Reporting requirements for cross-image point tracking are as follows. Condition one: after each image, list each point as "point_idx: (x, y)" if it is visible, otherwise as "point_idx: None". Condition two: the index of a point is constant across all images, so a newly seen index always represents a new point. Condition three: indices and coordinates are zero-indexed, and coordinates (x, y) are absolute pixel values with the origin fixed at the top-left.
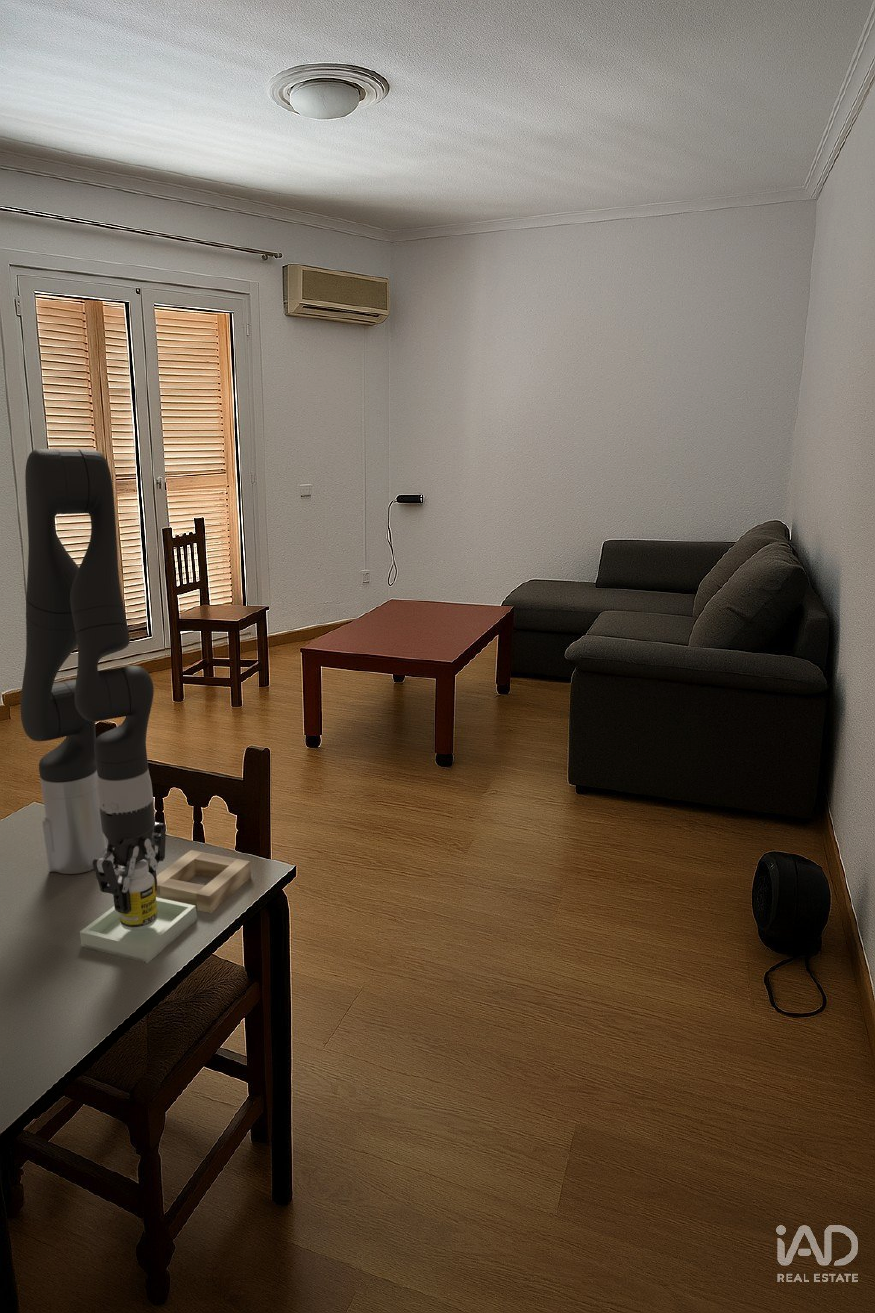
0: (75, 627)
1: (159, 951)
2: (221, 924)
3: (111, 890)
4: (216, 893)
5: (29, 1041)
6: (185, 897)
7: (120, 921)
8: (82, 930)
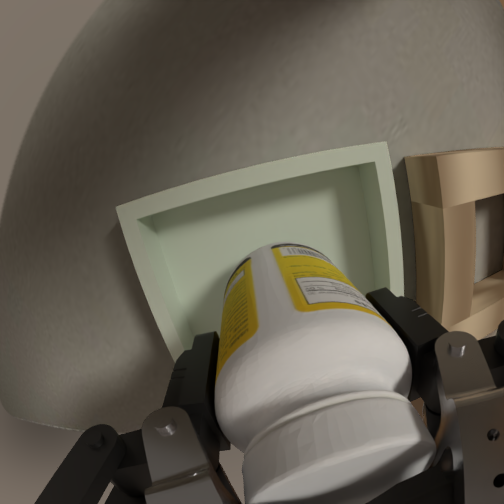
0: None
1: None
2: None
3: (115, 490)
4: None
5: (6, 359)
6: (432, 291)
7: (230, 277)
8: (125, 205)
